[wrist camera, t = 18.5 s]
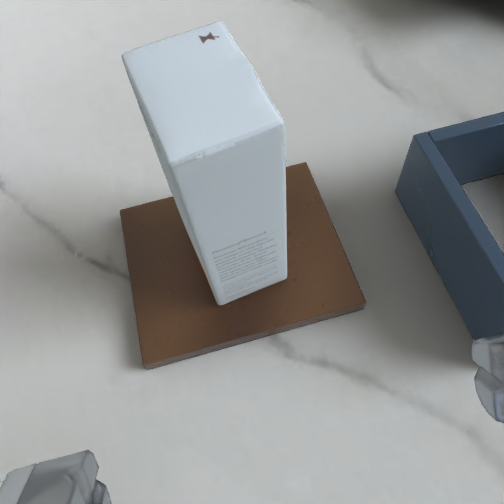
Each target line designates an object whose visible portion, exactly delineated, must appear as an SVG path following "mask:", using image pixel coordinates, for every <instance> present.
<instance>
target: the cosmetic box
mask: <svg viewBox="0 0 504 504" xmlns="http://www.w3.org/2000/svg"><path fill="white" fill-rule="evenodd" d="M122 60H123V63H124V66H125V69H126V71H127V74H128V77H129V80H130V83H131V85H132V88H133V91H134V94H135V96H136V99H137V102H138V104H139V107H140V110H141V113H142V115H143V118H144V121H145V123H146V126H147V129H148V131H149V134H150V137H151V139H152V142H153V145H154V147H155V150H156V153H157V155H158V158H159V161H160V163H161V166H162V169H163V171H164V174H165V176H166V179H167V182H168V184H169V187H170V190H171V192H172V195H173V197H174V200H175V203H176V205H177V208H178V210H179V213H180V215H181V218H182V221H183V223H184V225H185V228H186V230H187V233H188V235H189V238H190V240H191V242H192V245H193V247H194V250H195V252H196V254H197V257H198V259H199V261H200V264H201V266H202V268H203V271H204V273H205V275H206V278H207V280H208V283H209V285H210V287H211V290H212V292H213V295H214V297H215V300H216V302H217V304H218V305H224V304H227V303H229V302H231V301H233V300H236V299H238V298H241V297H243V296H245V295H248V294H250V293H253V292H255V291H257V290H260V289H262V288H265V287H267V286H270V285H272V284H275V283H277V282H280V281H282V280H285V279H286V278H287V224H286V216H287V214H286V160H285V123H284V120H283V118H282V116H281V115H280V113H279V111H278V110H277V108H276V107H275V105H274V103H273V102H272V100H271V99H270V97H269V95H268V94H267V92H266V91H265V89H264V87H263V86H262V84H261V82H260V80H259V78H258V76H257V73H256V71H255V69H254V68H253V66H252V64H251V63H250V61H249V60H248V59H247V58H246V57H245V56H244V54H243V53H242V51H241V50H240V48H239V46H238V45H237V44H236V42H235V40H234V39H233V37H232V36H231V34H230V32H229V31H228V29H227V28H226V26H225V25H224V23H223V22H221V21H219V22H215V23H212V24H209V25H206V26H203V27H200V28H197V29H194V30H191V31H188V32H185V33H182V34H179V35H175V36H172V37H169V38H166V39H163V40H160V41H157V42H153V43H150V44H147V45H145V46H142V47H139V48H136V49H133V50H131V51H128V52H125V53H124V54H122Z"/></svg>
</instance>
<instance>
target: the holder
mask: <svg viewBox="0 0 504 504" xmlns="http://www.w3.org/2000/svg"><path fill="white" fill-rule="evenodd" d="M501 173H504V112H501V113H497V114H493V115H489V116H485V117H482V118H478V119H474V120H470V121H466V122H462V123H458V124H454V125H451V126H447V127H443V128H439V129H435V130H431V131H428V132H424V133H420V134H416V135H414V136H413V138H412V141H411V144H410V147H409V150H408V153H407V156H406V159H405V162H404V165H403V168H402V171H401V174H400V177H399V180H398V183H397V186H396V189H395V193H396V194H397V196H398V198H399V200H400V202H401V204H402V206H403V208H404V209H405V211H406V213H407V215H408V217H409V219H410V221H411V223H412V224H413V226H414V228H415V230H416V232H417V234H418V236H419V238H420V240H421V241H422V243H423V245H424V247H425V249H426V251H427V253H428V255H429V256H430V258H431V260H432V262H433V264H434V266H435V268H436V270H437V271H438V273H439V275H440V277H441V279H442V281H443V283H444V285H445V286H446V288H447V290H448V292H449V294H450V296H451V298H452V300H453V302H454V303H455V305H456V307H457V309H458V311H459V313H460V315H461V317H462V318H463V320H464V322H465V324H466V326H467V328H468V330H469V332H470V333H471V335H472V337H473V339H474V340H478V339H481V338H484V337H487V336H490V335H494V334H497V333H500V332H503V331H504V254H503V253H502V251H501V249H500V248H499V246H498V245H497V243H496V241H495V240H494V238H493V237H492V235H491V233H490V232H489V230H488V229H487V227H486V225H485V224H484V222H483V221H482V219H481V218H480V216H479V214H478V213H477V211H476V210H475V208H474V206H473V205H472V203H471V202H470V200H469V198H468V197H467V195H466V194H465V192H464V190H463V189H462V187H461V186H460V184H464V183H468V182H472V181H475V180H479V179H483V178H487V177H490V176H494V175H498V174H501Z"/></svg>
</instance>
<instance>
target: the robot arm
mask: <svg viewBox="0 0 504 504" xmlns="http://www.w3.org/2000/svg"><path fill="white" fill-rule="evenodd" d="M471 352H472V359H473V360H474V361H475V362H476V363H477V364H478V365H479V366H480V367H479V369H478V371H477V373H476V375H475V377H474V380H475V386H476V392H477V394H478V397H479V399H480V401H481V404H482V405H483V407H484V408H485V410H486V411H487V412H488V414H489V415H491V416H492V417H493V418H494V419H495V420H496V421H498V422H501V423H504V331H503V332H500V333H497V334H494V335H490V336H487V337H484V338H481V339H478V340H474V341H473V343H472V347H471ZM98 469H99V466H98V464H97V461H96V459H95V456H94V454H93V453H92V452H91V451H89V450H86V451H82V452H78V453H74V454H71V455H67V456H63V457H59V458H55V459H52V460H48V461H44V462H40V463H38V464H32V465H29V466H26V467H22V468H19V469H15V470H13V471H11V472H10V473H8V474H7V476H6V478H5V480H4V482H3V484H2V485H1V487H0V504H111V500H110V495H109V493H108V490H107V487H106V485H105V484H103V483H101V482H100V481H98V480H96V477H97V473H98Z"/></svg>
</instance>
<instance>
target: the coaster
mask: <svg viewBox="0 0 504 504" xmlns="http://www.w3.org/2000/svg"><path fill="white" fill-rule="evenodd" d="M286 214H287V216H286V224H287V278H286V279H285V280H282V281H280V282H277V283H275V284H272V285H270V286H267V287H265V288H262V289H260V290H257V291H255V292H253V293H250V294H248V295H245V296H243V297H241V298H238V299H236V300H233V301H231V302H229V303H227V304H224V305H218V304H217V302H216V300H215V297H214V295H213V292H212V290H211V287H210V285H209V283H208V280H207V278H206V275H205V273H204V271H203V268H202V266H201V264H200V261H199V259H198V257H197V254H196V252H195V250H194V247H193V245H192V242H191V240H190V238H189V235H188V233H187V230H186V228H185V225H184V223H183V221H182V218H181V215H180V213H179V210H178V208H177V205H176V203H175V200H174V197H169V198H165V199H161V200H157V201H153V202H150V203H146V204H142V205H138V206H134V207H130V208H126V209H122V210H120V216H121V222H122V229H123V236H124V242H125V249H126V255H127V262H128V268H129V275H130V282H131V288H132V295H133V301H134V308H135V314H136V321H137V328H138V334H139V341H140V347H141V354H142V360H143V365H144V366H145V367H146V368H147V369H153V368H156V367H160V366H164V365H167V364H171V363H174V362H178V361H181V360H185V359H188V358H192V357H195V356H199V355H202V354H206V353H209V352H213V351H217V350H220V349H224V348H227V347H231V346H234V345H238V344H241V343H245V342H248V341H252V340H255V339H259V338H262V337H266V336H269V335H273V334H277V333H280V332H284V331H287V330H291V329H294V328H298V327H301V326H305V325H308V324H312V323H315V322H319V321H322V320H326V319H329V318H333V317H337V316H340V315H344V314H347V313H351V312H354V311H358V310H361V309H363V308H364V306H365V303H366V301H365V299H364V296H363V294H362V291H361V289H360V287H359V284H358V282H357V280H356V277H355V275H354V273H353V270H352V268H351V266H350V263H349V261H348V259H347V256H346V254H345V252H344V249H343V247H342V245H341V242H340V240H339V238H338V235H337V233H336V231H335V228H334V226H333V224H332V221H331V219H330V217H329V214H328V212H327V210H326V207H325V205H324V203H323V200H322V198H321V196H320V193H319V191H318V189H317V186H316V184H315V182H314V179H313V177H312V175H311V172H310V170H309V168H308V165H307V163H306V162H305V163H301V164H297V165H293V166H289V167H286Z"/></svg>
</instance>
